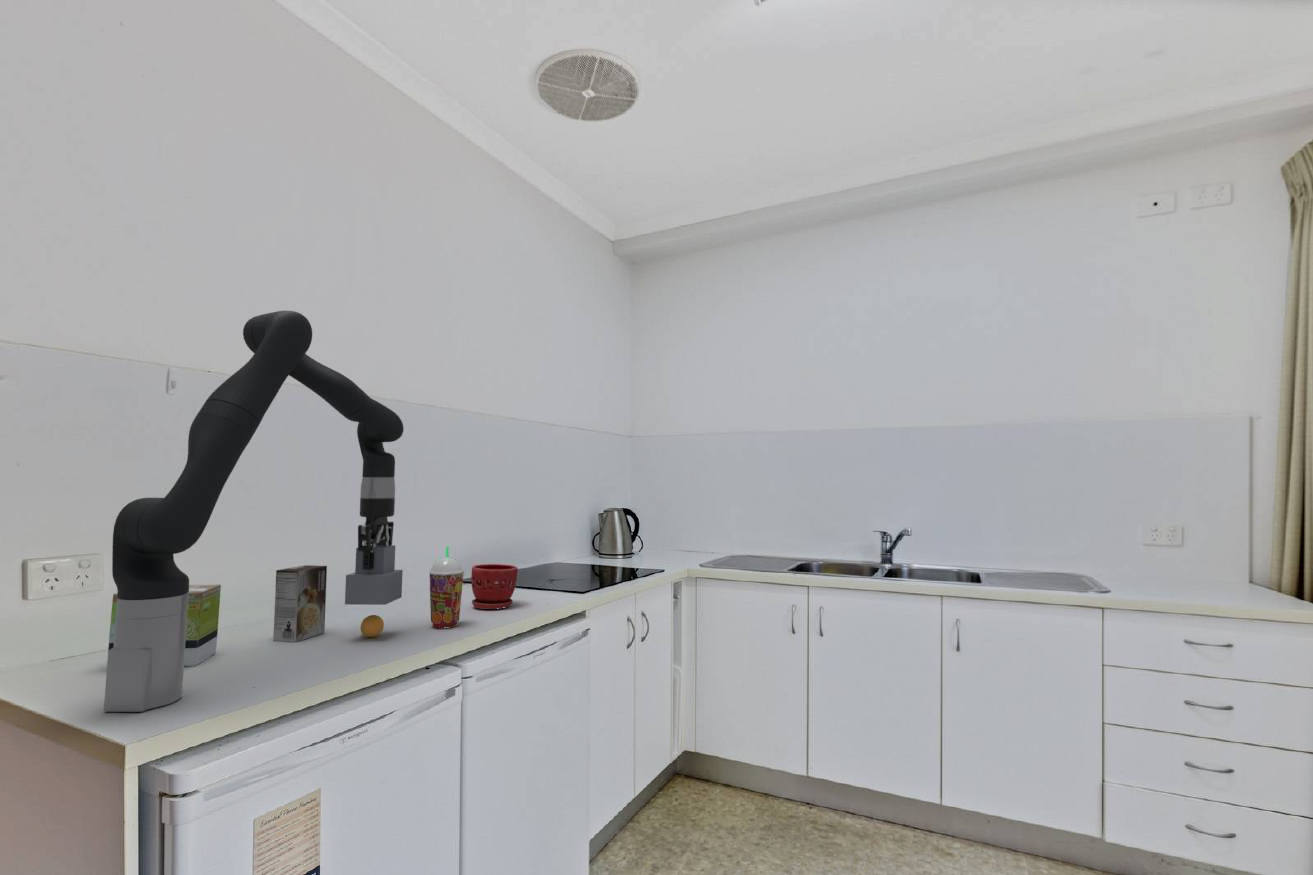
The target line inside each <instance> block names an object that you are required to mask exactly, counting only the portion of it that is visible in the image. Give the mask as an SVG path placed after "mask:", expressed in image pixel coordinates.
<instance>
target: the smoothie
mask: <svg viewBox="0 0 1313 875" xmlns="http://www.w3.org/2000/svg"><path fill="white" fill-rule="evenodd" d="M449 550H450V547H449V546H448V545H447V546H445V556H444V557H441V558H440V559H438V560H437V561H435V562H434V564H433V565H432V567H431V568H430V571H428V572H429V604H430V606H429V608H430V609H429V610H430V622H431V623H432V627H433V628H434V627H436V628H435V629H439V628H444V627H452V628H454V627H453V626H455V625H456V624H457V625H458V622H459V621H460V617H461V616H460V615H461V614H460V612H461V604H462V593H463V584H464V583H463V581H464V572H465V571H464V569H463V567H462V565H461V564H460V562H459V561H458V560H457V559H456V558H453V557H449V553H450V552H449ZM457 625H456V626H457ZM456 626H455V627H456Z"/></svg>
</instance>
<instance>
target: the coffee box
mask: <svg viewBox="0 0 1313 875" xmlns="http://www.w3.org/2000/svg"><path fill="white" fill-rule="evenodd" d="M327 572H328V566H327V565H308V564H307V565H300V566H293V567H288V568H282V569H281V568H280V569H277V570H275V591H274V592H275V596H274V612H273V613H274V617H273V619H274V620H273V634H272V635H273V637H272V638H273V639H272V640H273V642H285V643H286V642H287V643H288V642H289V643H298V642H301V641H303V640H306V639H309V638H314V637H315V636H318V635H322V634H325V628H326V627H325V626H326V602H327V600H326V599H327V578H328V577H327V575H328V573H327Z"/></svg>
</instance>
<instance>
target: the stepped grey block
mask: <svg viewBox="0 0 1313 875" xmlns="http://www.w3.org/2000/svg"><path fill="white" fill-rule="evenodd" d="M395 563H396V545H393V544H392V545H376V547H375V551H374V568H373V569H371V570H364V569H363V553H362V551H358V547H356V549H355V566H354V567H355V570H354V572H351V573H349V574H345V587H344V588H345V593H344V594H345V596H344V605H353V606H354V605H360V606H361V605H362V606H364V605H366V606H371V605H373V606H374V605H378V606H379V605H380V606H384V605H387V604H388V605H389V604H390V603H392V602H394V601H397V600H398V599H401V598H402V593H403V592H402V591H403V569H395V568H396V564H395Z"/></svg>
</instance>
